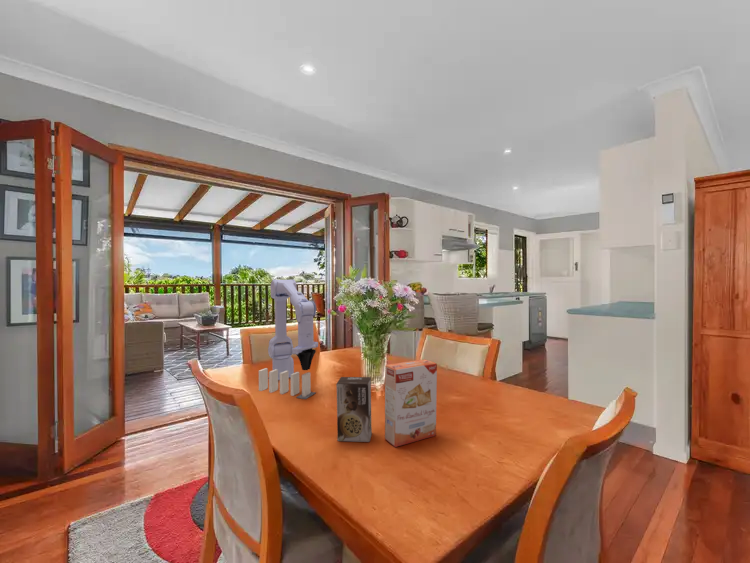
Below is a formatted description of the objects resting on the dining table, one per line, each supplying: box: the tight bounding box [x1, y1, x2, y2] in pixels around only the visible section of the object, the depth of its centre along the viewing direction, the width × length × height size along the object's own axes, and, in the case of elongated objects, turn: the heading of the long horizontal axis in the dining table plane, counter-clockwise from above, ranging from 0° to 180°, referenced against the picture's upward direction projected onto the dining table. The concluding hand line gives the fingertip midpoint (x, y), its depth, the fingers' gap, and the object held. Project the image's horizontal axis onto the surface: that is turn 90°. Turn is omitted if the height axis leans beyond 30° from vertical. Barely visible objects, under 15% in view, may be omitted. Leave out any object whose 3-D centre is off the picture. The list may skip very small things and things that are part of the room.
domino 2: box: [268, 369, 279, 394], centre depth 138 cm, size 4×1×8 cm, turn 158°
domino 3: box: [279, 371, 290, 395], centre depth 136 cm, size 4×1×8 cm, turn 158°
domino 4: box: [290, 371, 300, 397], centre depth 135 cm, size 4×1×8 cm, turn 158°
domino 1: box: [258, 367, 269, 392], centre depth 140 cm, size 4×1×8 cm, turn 158°
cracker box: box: [384, 358, 438, 448], centre depth 98 cm, size 14×6×21 cm, turn 120°
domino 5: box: [301, 371, 312, 397], centre depth 133 cm, size 4×1×8 cm, turn 158°
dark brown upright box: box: [335, 376, 373, 443], centre depth 99 cm, size 9×6×16 cm
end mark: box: [296, 391, 317, 400], centre depth 133 cm, size 7×4×1 cm, turn 158°
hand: (306, 369), depth 133 cm, fingers closed
